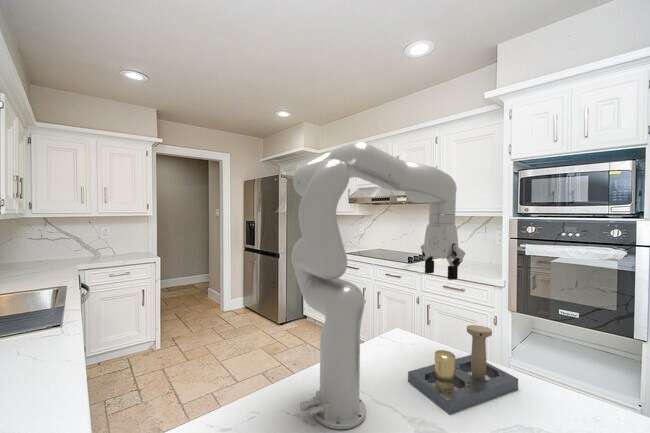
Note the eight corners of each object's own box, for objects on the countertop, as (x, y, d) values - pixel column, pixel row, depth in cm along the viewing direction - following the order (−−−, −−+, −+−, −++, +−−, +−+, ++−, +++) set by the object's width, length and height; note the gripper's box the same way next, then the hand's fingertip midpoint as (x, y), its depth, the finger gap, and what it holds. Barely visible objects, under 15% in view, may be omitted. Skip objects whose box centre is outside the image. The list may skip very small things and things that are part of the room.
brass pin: (444, 398, 78) (445, 360, 78) (430, 388, 83) (430, 352, 82) (458, 394, 80) (459, 356, 80) (444, 384, 85) (444, 348, 84)
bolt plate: (449, 414, 72) (449, 402, 72) (408, 381, 86) (408, 371, 86) (518, 389, 82) (518, 378, 82) (471, 364, 96) (471, 354, 96)
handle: (493, 387, 83) (494, 333, 83) (467, 383, 85) (468, 330, 85) (488, 377, 88) (489, 326, 88) (464, 374, 90) (465, 324, 89)
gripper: (413, 219, 100) (412, 271, 100) (454, 221, 84) (452, 283, 84) (431, 219, 102) (430, 270, 102) (474, 221, 86) (472, 281, 86)
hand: (440, 276), depth 93 cm, fingers open, 9 cm apart
